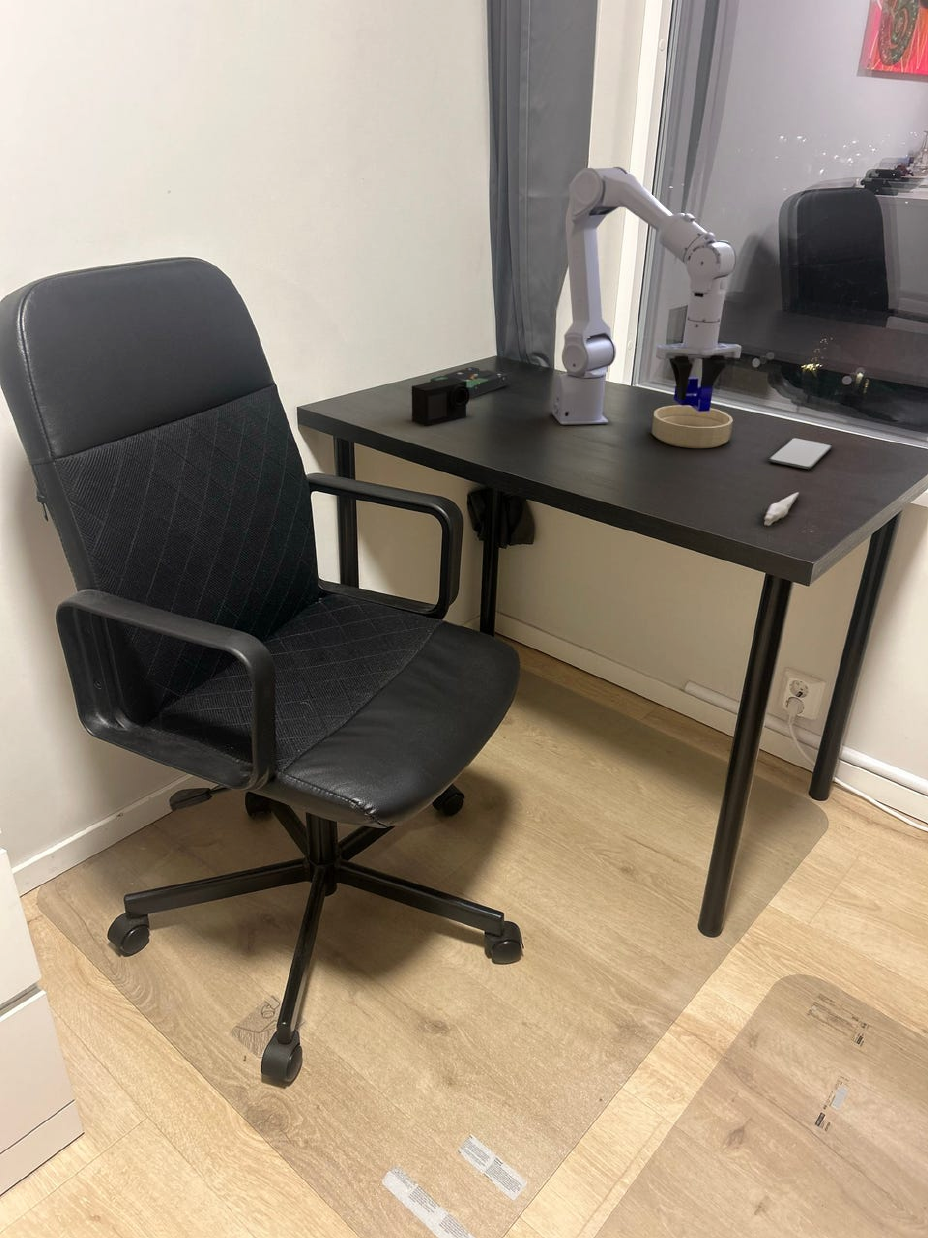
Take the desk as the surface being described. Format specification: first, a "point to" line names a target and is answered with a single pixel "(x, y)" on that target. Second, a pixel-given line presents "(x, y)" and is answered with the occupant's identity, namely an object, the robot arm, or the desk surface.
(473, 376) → the disk drive
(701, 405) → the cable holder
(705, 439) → the bowl
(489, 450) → the desk surface
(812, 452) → the smartphone
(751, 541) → the desk surface
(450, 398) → the digital camera
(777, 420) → the desk surface
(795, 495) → the spindle seashell
